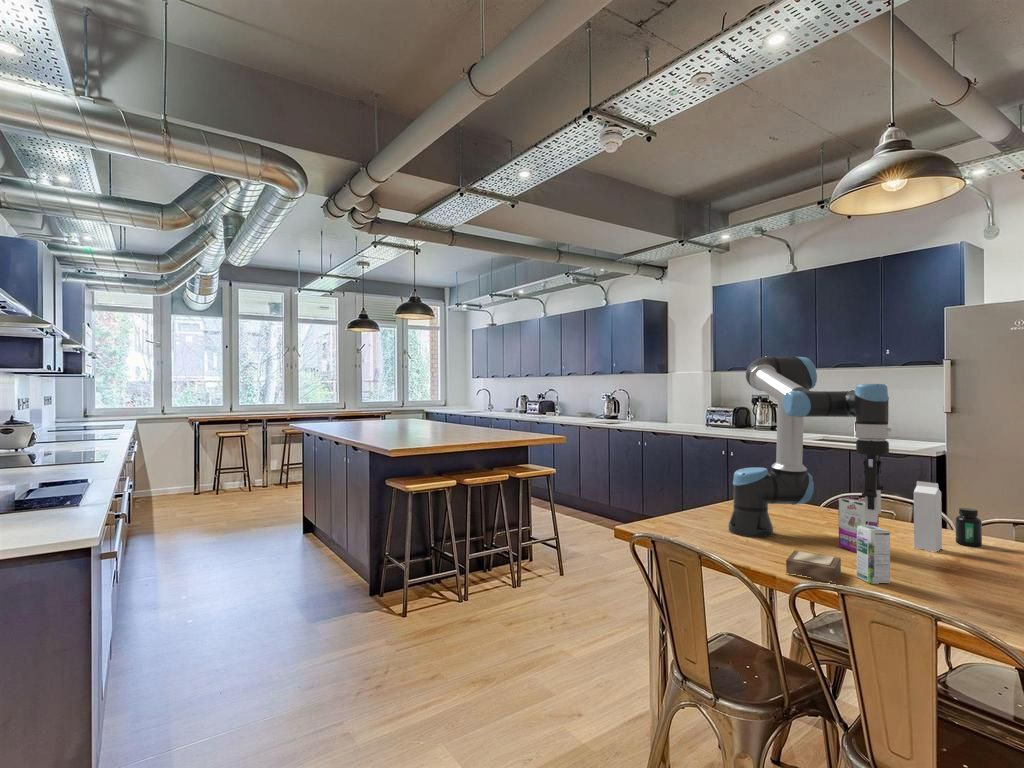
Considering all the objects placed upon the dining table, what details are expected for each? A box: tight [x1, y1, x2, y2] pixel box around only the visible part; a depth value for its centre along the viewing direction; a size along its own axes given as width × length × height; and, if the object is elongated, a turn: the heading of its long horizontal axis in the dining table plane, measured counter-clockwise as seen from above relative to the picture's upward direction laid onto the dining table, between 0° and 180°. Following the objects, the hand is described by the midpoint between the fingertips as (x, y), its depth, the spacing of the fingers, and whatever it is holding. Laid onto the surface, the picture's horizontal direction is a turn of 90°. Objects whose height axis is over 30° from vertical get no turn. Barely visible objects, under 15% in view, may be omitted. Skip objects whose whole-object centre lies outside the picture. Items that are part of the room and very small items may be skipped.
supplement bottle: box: [955, 507, 983, 548], centre depth 184 cm, size 7×7×12 cm
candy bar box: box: [838, 497, 880, 554], centre depth 176 cm, size 11×5×16 cm, turn 14°
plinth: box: [785, 550, 842, 582], centre depth 155 cm, size 12×12×4 cm
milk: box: [913, 480, 943, 553], centre depth 179 cm, size 6×6×22 cm
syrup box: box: [856, 525, 891, 585], centre depth 149 cm, size 6×6×14 cm
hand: (873, 517), depth 149 cm, fingers open, 13 cm apart
